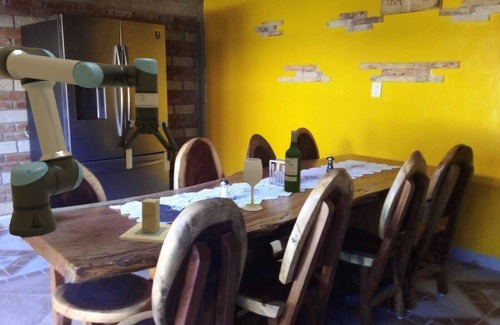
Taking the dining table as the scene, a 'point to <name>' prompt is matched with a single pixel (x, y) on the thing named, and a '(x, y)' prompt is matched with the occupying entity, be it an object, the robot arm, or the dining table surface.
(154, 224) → the box
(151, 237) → the tile
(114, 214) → the dining table surface
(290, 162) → the wine bottle
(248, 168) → the wineglass
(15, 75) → the robot arm
